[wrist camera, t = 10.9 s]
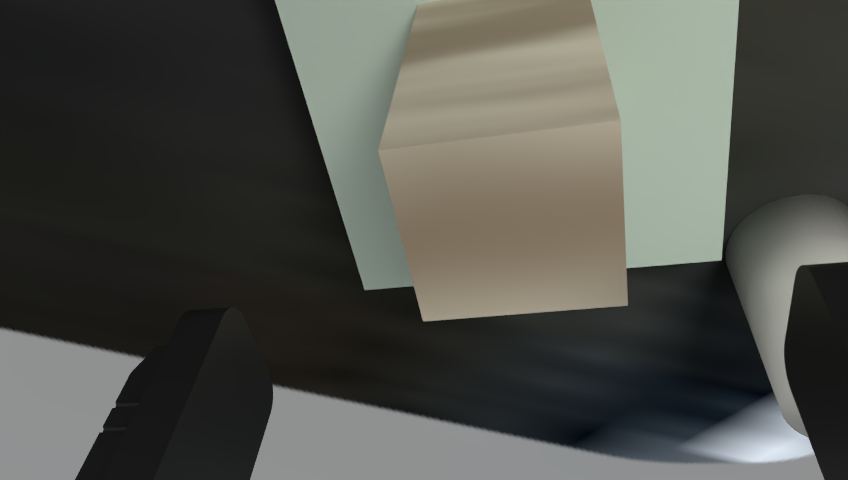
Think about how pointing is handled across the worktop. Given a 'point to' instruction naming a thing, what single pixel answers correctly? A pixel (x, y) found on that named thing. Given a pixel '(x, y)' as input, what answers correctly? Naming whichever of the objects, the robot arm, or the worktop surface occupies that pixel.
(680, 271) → the worktop surface
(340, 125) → the cutting board
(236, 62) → the worktop surface
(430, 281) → the ash block
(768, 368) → the ceramic jar
